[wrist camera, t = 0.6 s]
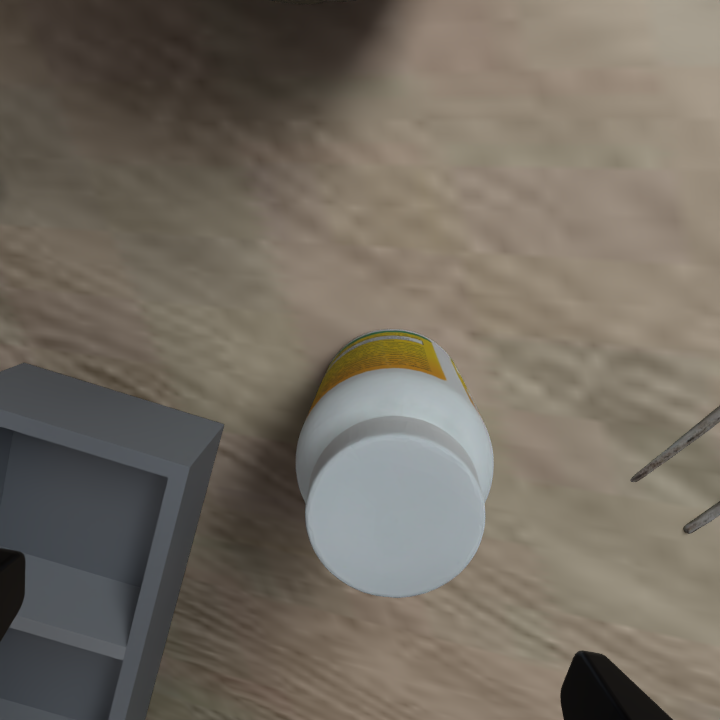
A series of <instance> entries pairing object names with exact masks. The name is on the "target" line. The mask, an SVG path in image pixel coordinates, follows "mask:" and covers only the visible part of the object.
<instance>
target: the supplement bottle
mask: <svg viewBox="0 0 720 720" xmlns="http://www.w3.org/2000/svg"><path fill="white" fill-rule="evenodd" d="M493 468H494V462H493V449H492V444H491V440H490V437H489V434H488V431H487V429H486V426H485V424H484V421H483V419H482V417H481V415H480V413H479V411H478V409H477V407H476V405H475V403H474V401H473V399H472V397H471V395H470V393H469V391H468V389H467V387H466V385H465V383H464V381H463V379H462V377H461V375H460V373H459V371H458V369H457V367H456V365H455V364H454V362H453V361H452V359H451V358H450V356H449V355H448V354H447V353H446V352H445V351H444V350H443V349H442V348H441V347H440V346H439V345H438V344H436V343H435V342H434V341H432V340H430V339H429V338H427V337H425V336H423V335H421V334H418V333H416V332H413V331H407V330H399V329H385V330H377V331H373V332H369V333H366V334H364V335H361V336H359V337H357V338H355V339H354V340H352V341H351V342H349V343H348V344H347V345H346V346H344V347H343V348H342V349H341V350H340V351H339V352H338V354H337V355H336V356H335V357H334V359H333V360H332V362H331V364H330V365H329V367H328V369H327V371H326V373H325V376H324V378H323V380H322V382H321V385H320V387H319V389H318V392H317V394H316V397H315V399H314V401H313V403H312V406H311V408H310V411H309V413H308V415H307V418H306V420H305V423H304V425H303V427H302V430H301V433H300V436H299V440H298V444H297V450H296V474H297V481H298V485H299V489H300V492H301V495H302V497H303V499H304V501H305V504H306V507H305V521H306V529H307V533H308V536H309V540H310V543H311V545H312V547H313V549H314V551H315V553H316V555H317V556H318V558H319V559H320V561H321V562H322V563H323V565H324V566H325V567H326V568H327V569H328V570H329V571H330V572H331V573H332V574H333V575H334V576H335V577H337V578H338V579H339V580H341V581H342V582H344V583H346V584H347V585H349V586H350V587H353V588H355V589H357V590H359V591H361V592H364V593H367V594H372V595H376V596H383V597H394V598H400V597H411V596H416V595H420V594H424V593H427V592H429V591H432V590H434V589H437V588H439V587H440V586H442V585H444V584H446V583H447V582H449V581H450V580H452V579H453V578H454V577H456V576H457V575H458V574H459V573H460V572H461V571H462V570H463V569H464V568H465V567H466V566H467V565H468V564H469V562H470V561H471V559H472V558H473V556H474V555H475V553H476V551H477V549H478V547H479V545H480V542H481V539H482V535H483V532H484V526H485V501H486V499H487V497H488V494H489V491H490V488H491V484H492V478H493Z"/></svg>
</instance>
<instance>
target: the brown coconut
mask: <svg viewBox="0 0 720 720" xmlns="http://www.w3.org/2000/svg"><path fill="white" fill-rule="evenodd" d="M271 1H276V2H283V3H295V4H315V3H321V2H326V1H338V2H345V1H354V0H271Z"/></svg>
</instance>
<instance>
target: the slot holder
mask: <svg viewBox="0 0 720 720" xmlns="http://www.w3.org/2000/svg"><path fill="white" fill-rule="evenodd" d="M223 427H224V424H221V423H218V422H215V421H212V420H208V419H205V418H202V417H199V416H195V415H192V414H189V413H186V412H182V411H179V410H176V409H173V408H170V407H166V406H163V405H160V404H157V403H153V402H150V401H147V400H144V399H140V398H137V397H134V396H131V395H127V394H124V393H121V392H118V391H114V390H111V389H108V388H105V387H101V386H98V385H95V384H92V383H88V382H85V381H82V380H79V379H76V378H72V377H69V376H66V375H63V374H59V373H56V372H53V371H50V370H46V369H43V368H40V367H37V366H33V365H30V364H27V363H22V364H19V365H17V366H14V367H11V368H9V369H6V370H3V371H1V372H0V548H4V549H10V550H16V551H20V552H22V553H23V554H24V555H25V560H26V569H25V596H24V600H23V603H22V606H21V608H20V610H19V612H18V614H17V615H16V617H15V619H14V620H13V622H12V624H11V625H10V627H9V629H8V630H7V632H6V634H5V635H4V637H3V639H2V640H1V642H0V720H145V718H146V714H147V710H148V707H149V703H150V699H151V695H152V692H153V688H154V684H155V680H156V677H157V673H158V669H159V666H160V662H161V658H162V654H163V651H164V647H165V643H166V640H167V636H168V632H169V628H170V625H171V621H172V617H173V613H174V610H175V606H176V602H177V599H178V595H179V591H180V587H181V584H182V580H183V576H184V573H185V569H186V565H187V561H188V558H189V554H190V550H191V546H192V543H193V539H194V535H195V532H196V528H197V524H198V520H199V517H200V513H201V509H202V506H203V502H204V498H205V494H206V491H207V487H208V483H209V479H210V476H211V472H212V468H213V465H214V461H215V457H216V453H217V450H218V446H219V442H220V439H221V435H222V431H223Z"/></svg>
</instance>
